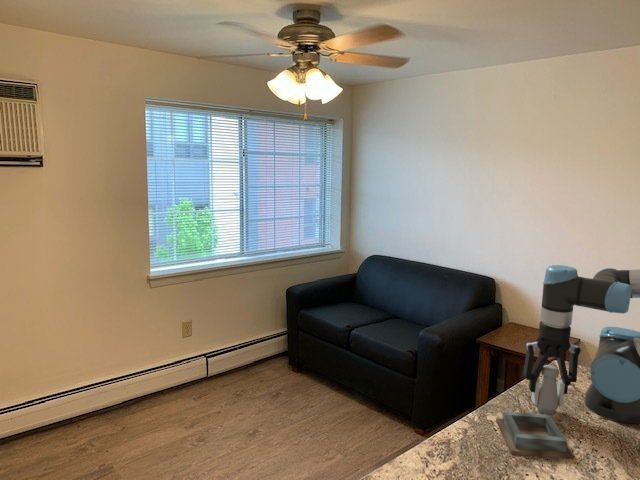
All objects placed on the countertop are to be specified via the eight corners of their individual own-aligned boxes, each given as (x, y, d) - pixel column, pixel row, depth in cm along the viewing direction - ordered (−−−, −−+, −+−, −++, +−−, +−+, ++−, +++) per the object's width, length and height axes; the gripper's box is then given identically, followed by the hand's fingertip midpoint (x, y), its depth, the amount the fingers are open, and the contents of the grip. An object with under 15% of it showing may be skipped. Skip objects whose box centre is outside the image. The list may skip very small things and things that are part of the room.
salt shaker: (560, 418, 125) (565, 373, 123) (537, 415, 127) (542, 370, 124) (553, 406, 131) (558, 363, 129) (532, 404, 132) (536, 361, 130)
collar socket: (551, 425, 122) (552, 412, 122) (573, 459, 108) (575, 445, 108) (495, 420, 124) (497, 408, 123) (510, 453, 110) (512, 440, 109)
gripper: (586, 320, 127) (576, 398, 131) (514, 316, 129) (507, 394, 133) (599, 330, 120) (588, 413, 124) (522, 326, 122) (515, 408, 126)
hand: (546, 403), depth 128 cm, fingers closed on salt shaker, 6 cm apart
